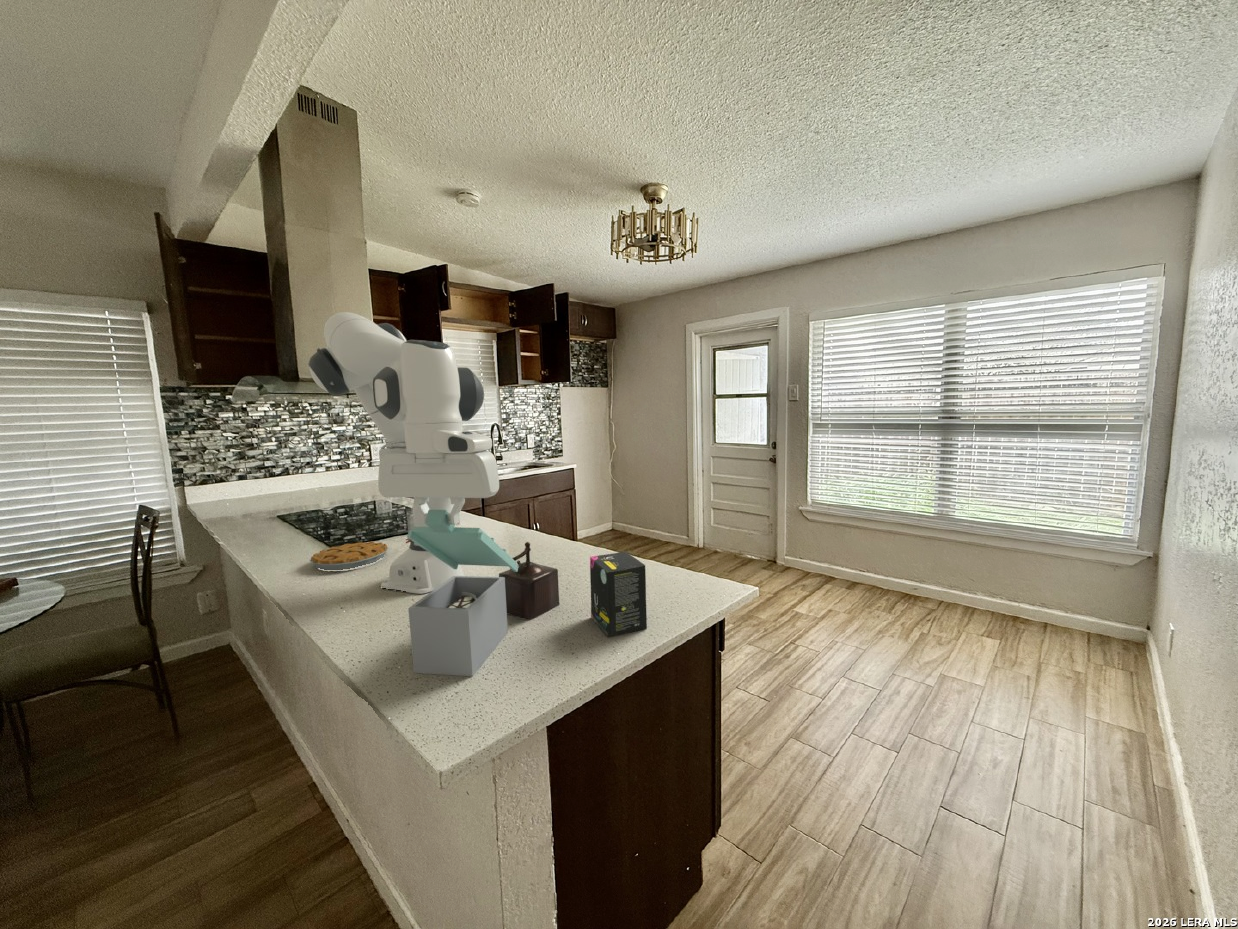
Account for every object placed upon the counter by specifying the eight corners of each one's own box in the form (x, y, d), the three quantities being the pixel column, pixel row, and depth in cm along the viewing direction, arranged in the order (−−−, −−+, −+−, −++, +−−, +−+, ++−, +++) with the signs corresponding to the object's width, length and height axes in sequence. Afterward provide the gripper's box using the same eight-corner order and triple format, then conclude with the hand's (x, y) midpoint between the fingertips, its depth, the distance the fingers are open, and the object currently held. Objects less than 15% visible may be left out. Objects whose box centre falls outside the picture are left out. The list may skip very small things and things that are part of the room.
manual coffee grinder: (528, 595, 120) (525, 528, 118) (560, 604, 113) (557, 533, 111) (480, 618, 107) (475, 543, 105) (513, 630, 101) (508, 550, 99)
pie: (403, 554, 159) (401, 540, 159) (353, 576, 138) (351, 560, 137) (350, 551, 164) (348, 537, 164) (294, 572, 143) (292, 557, 143)
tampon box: (590, 617, 106) (588, 556, 104) (626, 610, 110) (625, 550, 108) (608, 638, 96) (606, 571, 94) (647, 629, 100) (646, 564, 98)
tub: (413, 672, 85) (408, 608, 84) (457, 630, 101) (453, 575, 100) (472, 676, 83) (468, 610, 82) (507, 632, 100) (504, 577, 98)
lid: (393, 528, 75) (400, 509, 77) (454, 569, 93) (458, 553, 95) (469, 529, 73) (475, 510, 74) (517, 571, 91) (520, 555, 92)
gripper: (365, 443, 74) (372, 527, 76) (482, 441, 70) (488, 529, 72) (391, 440, 80) (397, 518, 82) (500, 438, 76) (505, 520, 78)
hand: (441, 523), depth 77 cm, fingers closed on lid, 3 cm apart
